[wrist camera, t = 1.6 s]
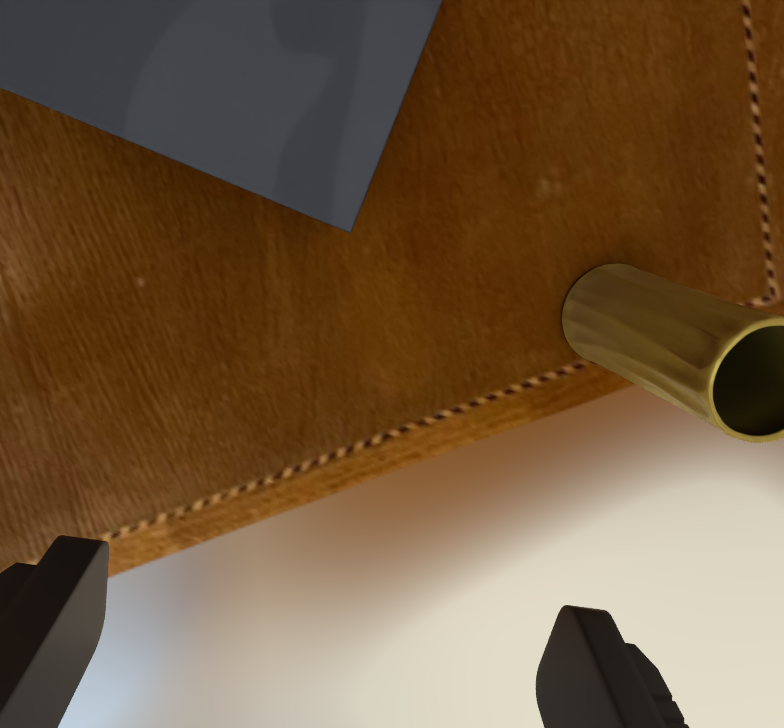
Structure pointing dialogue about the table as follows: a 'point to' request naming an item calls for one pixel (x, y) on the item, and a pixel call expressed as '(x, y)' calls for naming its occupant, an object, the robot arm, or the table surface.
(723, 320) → the vase
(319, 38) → the cabinet
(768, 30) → the table surface
